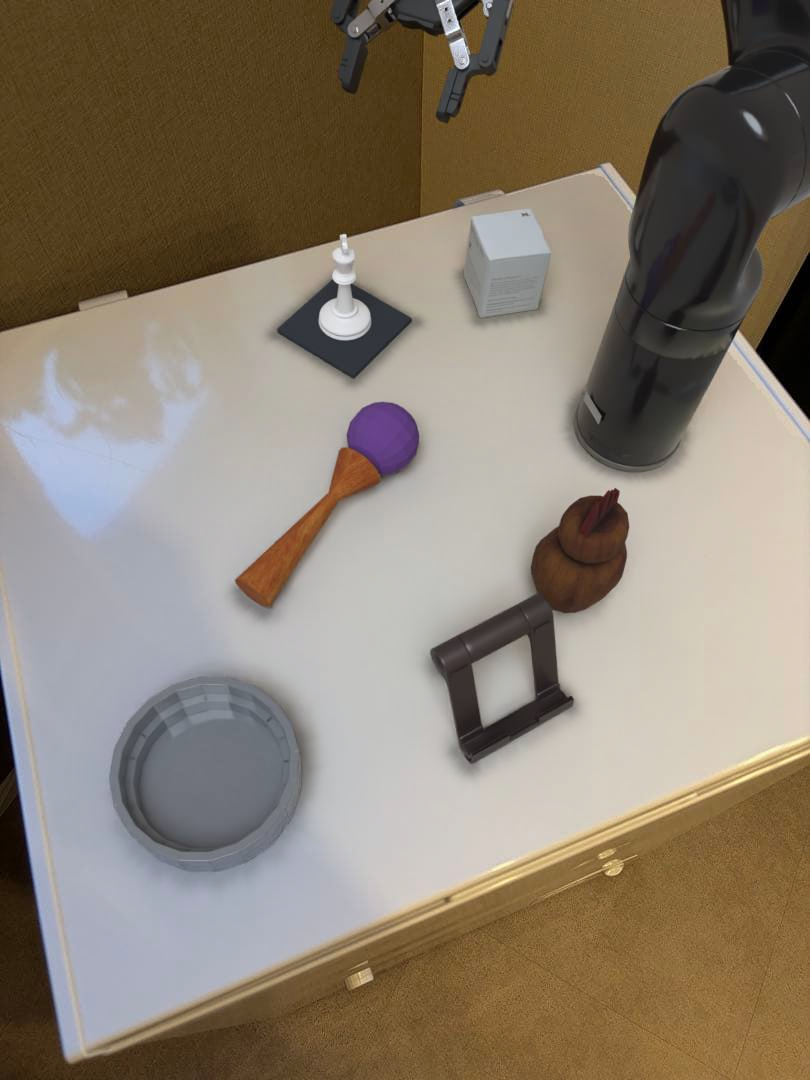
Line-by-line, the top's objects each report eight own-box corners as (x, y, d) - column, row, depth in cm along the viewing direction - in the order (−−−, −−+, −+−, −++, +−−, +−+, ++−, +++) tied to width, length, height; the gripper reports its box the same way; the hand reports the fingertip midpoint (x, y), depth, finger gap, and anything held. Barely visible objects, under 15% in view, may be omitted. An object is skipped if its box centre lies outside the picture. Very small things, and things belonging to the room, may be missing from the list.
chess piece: (323, 343, 82) (319, 259, 73) (314, 304, 84) (310, 219, 75) (375, 337, 82) (378, 253, 74) (366, 299, 85) (367, 213, 76)
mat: (337, 278, 87) (337, 274, 86) (411, 321, 84) (412, 317, 84) (277, 332, 83) (276, 328, 82) (353, 379, 80) (353, 375, 80)
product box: (461, 274, 88) (469, 214, 81) (520, 266, 89) (532, 205, 82) (478, 320, 85) (488, 260, 78) (539, 310, 86) (554, 251, 79)
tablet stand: (468, 769, 63) (483, 732, 56) (412, 677, 66) (419, 631, 59) (569, 710, 66) (596, 668, 58) (511, 625, 69) (529, 575, 62)
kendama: (210, 556, 66) (369, 377, 73) (235, 594, 71) (381, 423, 78) (270, 592, 64) (428, 403, 71) (291, 629, 69) (437, 449, 76)
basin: (208, 665, 66) (199, 644, 63) (337, 763, 63) (335, 746, 59) (86, 798, 61) (69, 782, 57) (219, 912, 58) (211, 903, 54)
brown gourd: (550, 636, 69) (595, 539, 56) (511, 577, 71) (546, 470, 58) (622, 601, 70) (681, 499, 57) (582, 544, 73) (630, 434, 60)
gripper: (361, -157, 67) (302, 69, 72) (538, -111, 65) (465, 119, 70) (387, -109, 75) (331, 94, 79) (547, -66, 72) (481, 140, 77)
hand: (394, 105), depth 74 cm, fingers open, 8 cm apart
